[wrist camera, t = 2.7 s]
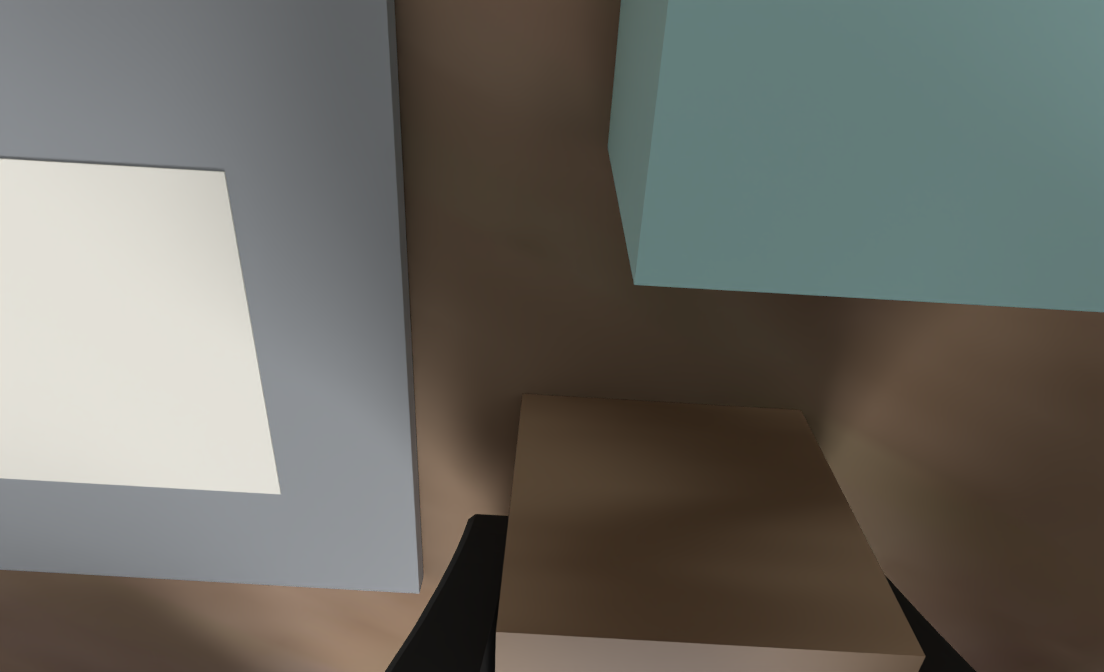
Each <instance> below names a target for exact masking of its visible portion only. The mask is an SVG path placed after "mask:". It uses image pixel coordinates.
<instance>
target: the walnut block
mask: <svg viewBox="0 0 1104 672" xmlns="http://www.w3.org/2000/svg"><path fill="white" fill-rule="evenodd" d="M925 657H926V656H925V654H924V652H923V650H922V648H921V646H920V644H919V642H918V640H917V638H916V636H915V634H914V633H913V631H912V629H911V627H910V625H909V623H908V621H907V619H906V617H905V615H904V613H903V611H902V609H901V607H900V605H899V603H898V601H897V599H896V597H895V595H894V593H893V591H892V589H891V587H890V585H889V583H888V581H887V579H886V577H885V575H884V573H883V571H882V569H881V567H880V565H879V563H878V561H877V559H876V558H875V556H874V554H873V552H872V550H871V548H870V546H869V544H868V542H867V540H866V538H865V536H864V534H863V532H862V530H861V528H860V526H859V524H858V522H857V520H856V518H855V516H854V514H853V512H852V510H851V508H850V506H849V504H848V502H847V500H846V498H845V496H844V494H843V492H842V490H841V488H840V486H839V485H838V483H837V481H836V479H835V477H834V475H833V473H832V471H831V469H830V467H829V465H828V463H827V461H826V459H825V457H824V455H823V453H822V451H821V449H820V447H819V445H818V443H817V441H816V439H815V437H814V435H813V433H812V431H811V429H810V427H809V425H808V423H807V421H806V419H805V417H804V415H803V413H802V412H801V410H793V409H776V408H759V407H742V406H725V405H707V404H690V403H673V402H656V401H639V400H622V399H604V398H587V397H570V396H553V395H536V394H523V395H522V403H521V412H520V421H519V430H518V439H517V448H516V457H515V466H514V475H513V484H512V493H511V502H510V511H509V520H508V529H507V538H506V547H505V556H504V564H503V573H502V582H501V591H500V600H499V609H498V618H497V627H496V653H495V672H918V671H919V669H920V667H921V665H922V663H923V661H924V659H925Z"/></svg>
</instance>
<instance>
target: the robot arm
mask: <svg viewBox="0 0 1104 672" xmlns="http://www.w3.org/2000/svg"><path fill="white" fill-rule="evenodd" d="M508 520H509V516H499V515H481V514H475V515H474V516H472V517H471V518H470V519H468V522H467V525H466V528H465V530H464V533H463V535H462V538H461V540H460V542H459V545H458V547H457V549H456V551H455V554H454V556H453V558H452V560H451V562H450V564H449V566H448V568H447V570H446V571H445V573H444V575H443V577H442V579H441V581H440V583H439V585H438V587H437V588H436V590H435V592H434V594H433V595H432V597H431V599H430V601H429V602H428V604H427V606H426V607H425V609H424V611H423V613H422V614H421V616H420V618H419V620H418V621H417V623H416V625H415V626H414V628H413V630H412V631H411V633H410V634H409V636H408V638H407V639H406V641H405V642H404V644H403V645H402V647H401V648H400V650H399V651H398V653H397V654H396V656H395V657H394V659H393V660H392V662H391V663H390V665H389V666H388V668H387V669H386V671H385V672H495V653H496V627H497V618H498V609H499V600H500V591H501V582H502V573H503V564H504V556H505V547H506V538H507V529H508ZM885 577H886V576H885ZM886 579H887V581H888V583H889V585H890V587H891V589H892V591H893V593H894V595H895V597H896V599H897V601H898V603H899V605H900V607H901V609H902V611H903V613H904V615H905V617H906V619H907V621H908V623H909V625H910V627H911V629H912V631H913V633H914V634H915V636H916V638H917V640H918V642H919V644H920V646H921V648H922V650H923V652H924V654H925V656H926V657H925V659H924V661H923V663H922V665H921V667H920V669H919V671H918V672H976V671H975V670H974V669H973V668H972V667H971V666H970V665H969V664H968V663H967V662H966V661H965V660H964V659H963V658H962V657H961V656H960V655H959V654H958V653H957V652H956V651H955V650H954V649H953V648H952V647H951V645H950V644H949V643H948V642H947V641H946V640H945V639H944V638H943V637H942V636H941V635H940V634H939V633H938V632H937V631H936V630H935V629H934V628H933V627H932V626H931V624H930V623H929V622H928V621H927V620H926V619H925V618H924V617H923V616H922V615H921V614H920V613H919V612H918V611H917V610H916V608H915V607H914V606H913V605H912V604H911V603H910V602H909V601H908V600H907V599H906V598H905V597H904V595H903V594H902V593H901V592H900V591H899V590H898V589H897V588H896V587H895V586H894V585H893V583H892V582H891V581H890V580H889V579H888V578H887V577H886Z"/></svg>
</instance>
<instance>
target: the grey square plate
mask: <svg viewBox="0 0 1104 672" xmlns="http://www.w3.org/2000/svg"><path fill="white" fill-rule="evenodd" d="M0 570H16V571H33V572H51V573H68V574H86V575H103V576H121V577H138V578H156V579H173V580H191V581H208V582H226V583H243V584H261V585H278V586H296V587H313V588H331V589H348V590H366V591H383V592H401V593H418V594H419V593H420V589H421V585H422V580H423V559H422V539H421V519H420V499H419V480H418V460H417V440H416V420H415V400H414V381H413V361H412V341H411V321H410V301H409V282H408V262H407V242H406V222H405V202H404V183H403V163H402V143H401V123H400V103H399V84H398V64H397V44H396V24H395V4H394V0H0Z"/></svg>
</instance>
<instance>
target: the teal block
mask: <svg viewBox="0 0 1104 672" xmlns="http://www.w3.org/2000/svg"><path fill="white" fill-rule="evenodd" d="M608 152H609V157H610V162H611V168H612V173H613V178H614V183H615V188H616V194H617V199H618V204H619V209H620V214H621V219H622V225H623V230H624V235H625V240H626V245H627V251H628V256H629V261H630V266H631V271H632V276H633V282H634V285H645V286H662V287H679V288H696V289H714V290H731V291H748V292H765V293H782V294H799V295H816V296H833V297H851V298H868V299H885V300H902V301H919V302H936V303H953V304H970V305H988V306H1005V307H1022V308H1039V309H1056V310H1073V311H1090V312H1104V0H621V7H620V18H619V29H618V40H617V51H616V62H615V73H614V84H613V95H612V106H611V117H610V128H609V139H608Z"/></svg>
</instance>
